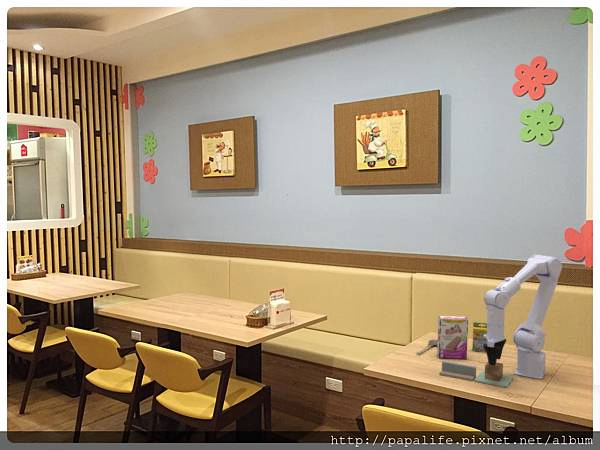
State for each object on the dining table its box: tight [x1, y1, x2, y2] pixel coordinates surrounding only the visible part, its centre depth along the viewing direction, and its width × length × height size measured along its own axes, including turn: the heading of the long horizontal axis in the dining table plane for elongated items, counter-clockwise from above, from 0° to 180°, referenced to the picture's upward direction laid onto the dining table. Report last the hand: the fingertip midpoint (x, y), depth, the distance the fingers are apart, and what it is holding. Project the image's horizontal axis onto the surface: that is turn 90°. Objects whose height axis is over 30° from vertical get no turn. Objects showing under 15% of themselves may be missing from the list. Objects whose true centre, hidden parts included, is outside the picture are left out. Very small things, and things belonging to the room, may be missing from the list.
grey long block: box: [438, 360, 477, 382], centre depth 195 cm, size 12×4×4 cm, turn 58°
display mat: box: [473, 370, 514, 388], centre depth 192 cm, size 11×11×1 cm
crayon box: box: [472, 321, 488, 353], centre depth 225 cm, size 7×3×12 cm, turn 72°
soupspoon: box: [415, 339, 438, 356], centre depth 228 cm, size 22×3×7 cm
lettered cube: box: [484, 361, 504, 381], centre depth 192 cm, size 5×5×5 cm
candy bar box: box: [436, 315, 469, 360], centre depth 216 cm, size 11×5×16 cm, turn 84°
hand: (494, 361), depth 191 cm, fingers open, 7 cm apart
